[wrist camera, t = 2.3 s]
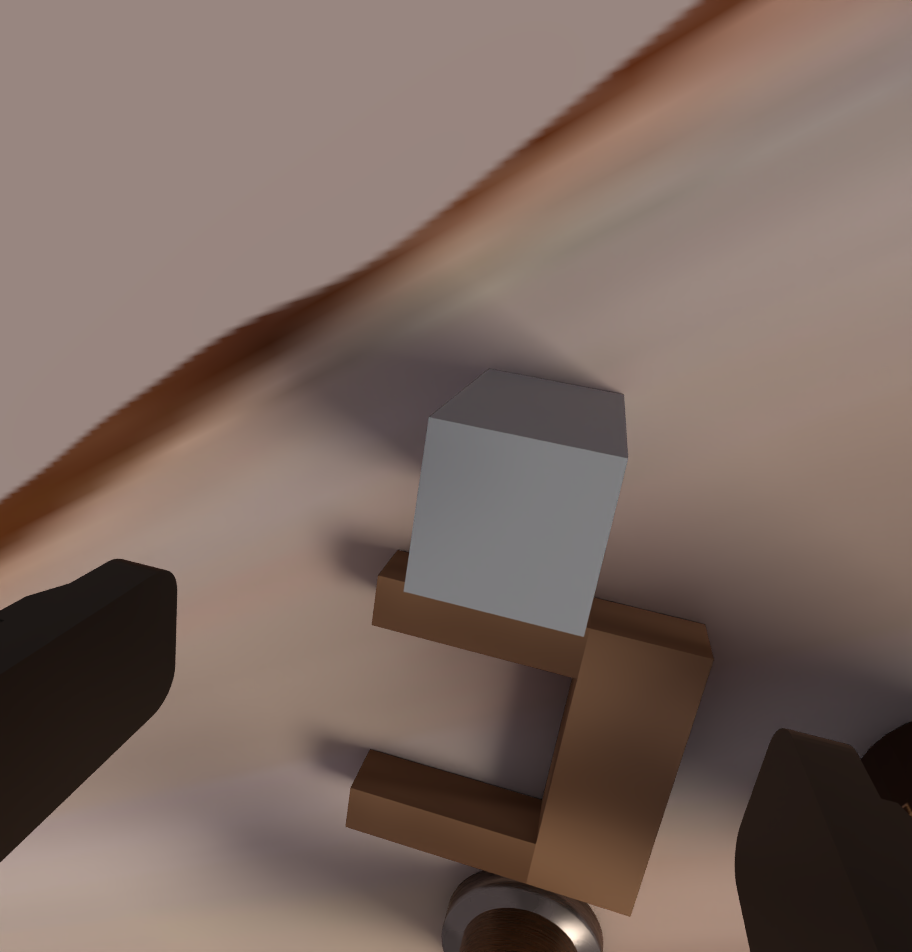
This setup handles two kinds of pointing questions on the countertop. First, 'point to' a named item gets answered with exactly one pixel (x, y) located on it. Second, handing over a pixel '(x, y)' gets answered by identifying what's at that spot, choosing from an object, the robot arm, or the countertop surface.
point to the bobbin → (517, 919)
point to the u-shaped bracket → (575, 756)
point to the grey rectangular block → (518, 499)
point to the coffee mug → (892, 766)
